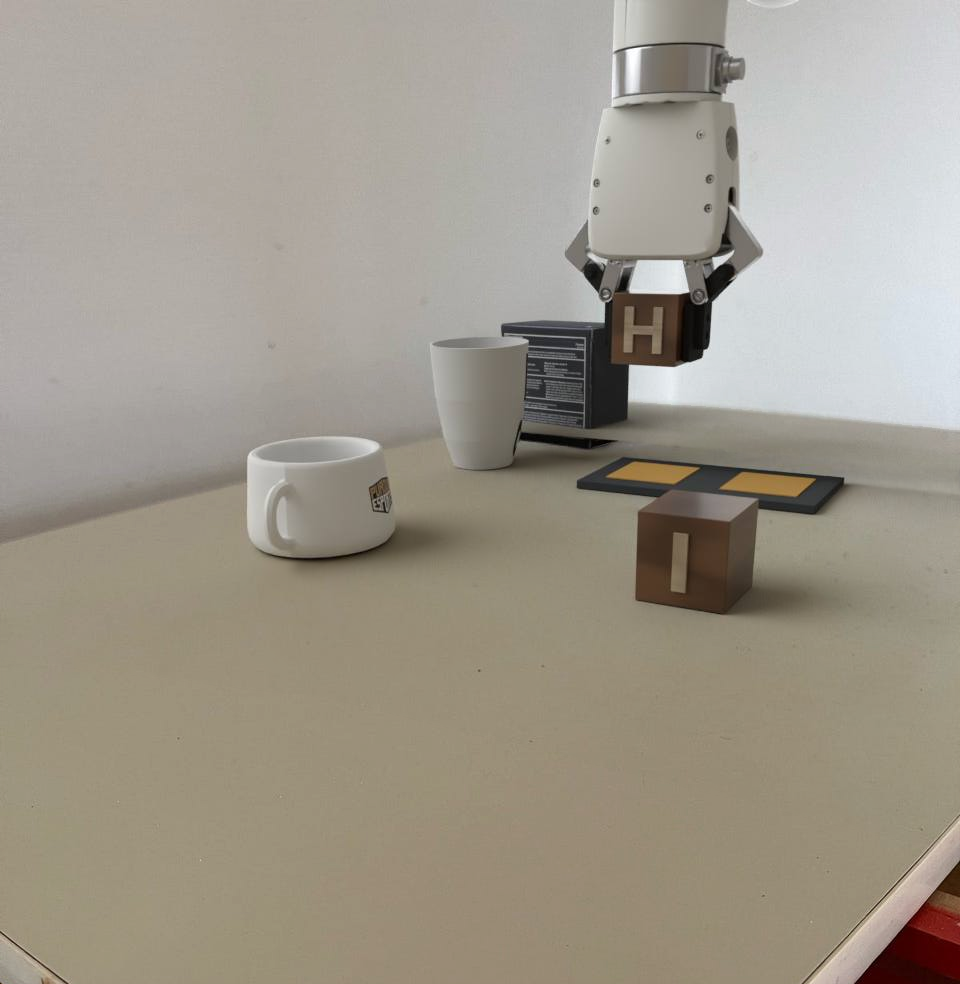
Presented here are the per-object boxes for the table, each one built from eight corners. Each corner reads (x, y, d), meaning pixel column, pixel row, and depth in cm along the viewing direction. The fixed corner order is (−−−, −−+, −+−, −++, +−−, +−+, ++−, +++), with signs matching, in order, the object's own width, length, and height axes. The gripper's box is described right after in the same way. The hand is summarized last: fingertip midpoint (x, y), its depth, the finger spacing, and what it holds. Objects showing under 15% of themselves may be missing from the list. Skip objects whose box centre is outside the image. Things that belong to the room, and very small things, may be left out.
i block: (752, 585, 58) (759, 498, 56) (722, 615, 53) (729, 522, 52) (667, 573, 60) (671, 489, 58) (633, 601, 56) (635, 511, 54)
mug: (291, 515, 74) (283, 432, 71) (417, 523, 71) (413, 436, 69) (201, 568, 63) (188, 471, 61) (345, 579, 60) (337, 479, 58)
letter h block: (698, 358, 78) (702, 289, 76) (674, 367, 74) (677, 294, 72) (636, 355, 80) (639, 288, 78) (609, 364, 76) (611, 293, 74)
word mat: (843, 485, 78) (844, 475, 77) (814, 514, 70) (815, 504, 70) (622, 463, 86) (622, 455, 86) (576, 488, 79) (576, 479, 79)
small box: (632, 439, 95) (635, 321, 91) (590, 451, 91) (592, 328, 87) (542, 427, 102) (542, 316, 98) (499, 438, 97) (497, 323, 93)
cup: (545, 467, 86) (544, 343, 82) (454, 478, 83) (449, 350, 79) (507, 449, 93) (505, 334, 89) (422, 459, 90) (416, 340, 86)
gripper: (808, 78, 69) (782, 357, 76) (577, 97, 77) (574, 347, 84) (777, 67, 63) (753, 371, 70) (530, 88, 71) (531, 359, 78)
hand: (655, 355), depth 77 cm, fingers closed on letter h block, 5 cm apart
